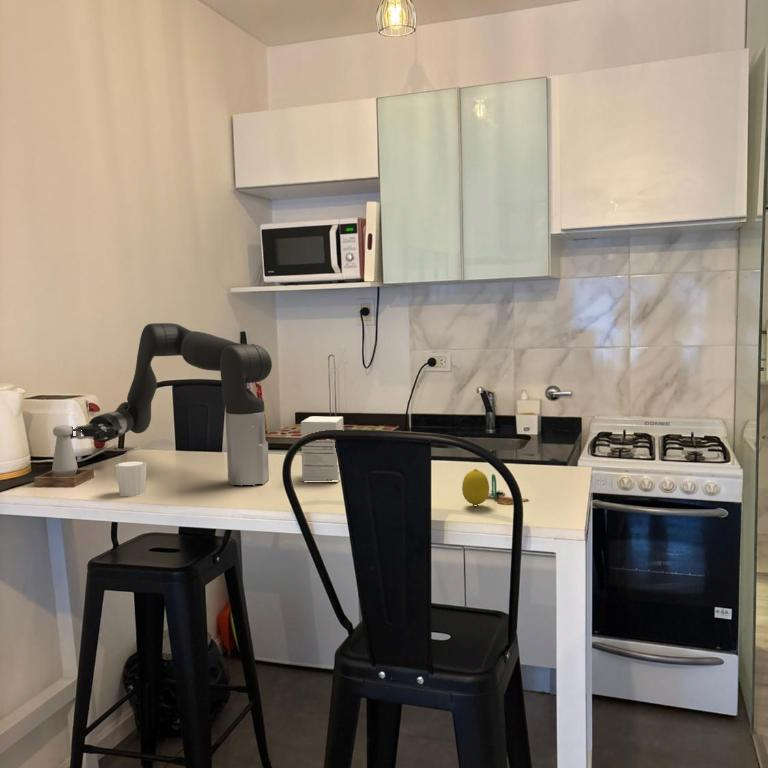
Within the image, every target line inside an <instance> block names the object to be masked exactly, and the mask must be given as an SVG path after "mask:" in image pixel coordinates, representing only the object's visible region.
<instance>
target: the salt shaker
mask: <svg viewBox="0 0 768 768" xmlns="http://www.w3.org/2000/svg"><path fill="white" fill-rule="evenodd" d="M52 434H53V436H54V437H56V440H55V446H54V452H53V453H54V454H53V455H54V456H53V460H52V468H51V471H52V472H53V473H54V475H55V476H56V477H73V476H75V475H76V472H77V469H79V467H78V463H77V458H76V455H75V450H74V446H73V443H72V439H71V438H70V435H71V434H72V426H71V425H67V424H65V425H64V424H63V425H62V424H61V425H56V426H55V427H53V428H52Z"/></svg>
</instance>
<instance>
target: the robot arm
mask: <svg viewBox="0 0 768 768" xmlns="http://www.w3.org/2000/svg"><path fill="white" fill-rule="evenodd" d="M137 349H138V350H137V356H136V363H135V369H134V375H133V378H132V383H131V385H130V386H129V387H130V388H129V391H128V393H127V396H126V401H123V402H122V403H120V404H119V405H118V406H117V408H116V410H114V411H109V412H106V413H102V414H100V415H99V414H98V415H97V416H94V417H92V418H91V419H90V420H89V421H88V423H87V424H85V425H76V426H77V427H76V428H75V429H73V427H72V426H71V427H72V434H71V435H70V438H71V440H73V439H77V440H86V439H89V440H90V439H92V440H93V441H95V442H96V443H97V442H98V443H101V444H103V443H107V442H109V441H111V440H115V439H116V438H119V437H120V436H122V435H124V434H126V433H128V432H129V431H130V432H132V433H135V434H142V433H144V432H146V431H147V429H148V428H149V426H150V425H151V421H152V402H153V400H154V397H155V394H156V391H157V387H158V380H157V377H156V375H155V372H154V370H153V368H152V361H153V359H154V358H155V357H176V356H182V359H183V360H184V361H185V362H186V363H187V364H188V365H190V366H191V367H195V368H197V369H201V370H205V371H214V372H220V381H221V393H222V401H223V404H224V407H225V408H224V410H225V411H224V413H225V435H226V458H227V459H226V464H227V483H229V484H228V485H230V484H231V485H230V486H234V485H241V486H240V487H243V486H242V485H253V486H256V485H255V484H263V485H264V484H266V482H268V481H269V480H270V469H269V466H270V465H269V464H270V463H269V443H268V440H266V423H265V422H266V420H265V418H266V417H265V415H266V414H265V401H264V400H263V399H262V398H260V397H258V396H257V397H256V396H254V395H251V394H250V393H248V392H247V388H246V384H254V383H259V382H262V381H264V380H265V379H266V378H268V377H269V375H270V373H271V371H272V367H273V361H272V358H271V356H270V354H269V352H268V351H267V350H266V349H265V348H264V347H263V346H261V345H259V344H248V343H247V344H246V343H240V342H235V341H232V340H229V339H226V338H224V337H220V336H216V335H214V334H210V333H208V332H207V333H206V332H202V331H195V330H194V331H193V330H189V329H188V328H186V327H184V326H182V325H181V324H176V323H173V322H172V323H171V322H168V323H167V322H166V323H165V322H164V323H162V322H160V323H159V322H158V323H156V322H155V323H148V324H146V325H145V326H144V328H143V330H142V331H141V335H140V339H139V344H138V348H137ZM129 405H130V406H131V407H132V408H131V410H130V411H129V412H127V411H126V409H127V407H128V406H129ZM81 430H82V431H81ZM73 431H76V436H73Z"/></svg>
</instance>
